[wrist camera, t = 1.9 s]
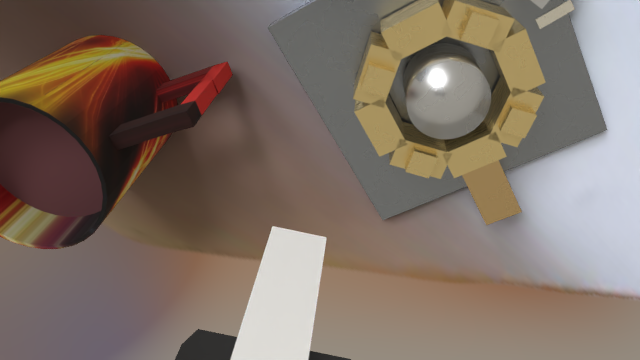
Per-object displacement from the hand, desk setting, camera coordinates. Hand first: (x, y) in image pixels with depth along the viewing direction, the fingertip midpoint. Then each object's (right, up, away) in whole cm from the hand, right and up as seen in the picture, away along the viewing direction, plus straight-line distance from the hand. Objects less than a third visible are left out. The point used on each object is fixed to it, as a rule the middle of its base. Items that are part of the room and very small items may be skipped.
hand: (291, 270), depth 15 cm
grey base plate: (+9, +10, +21) cm, 25 cm away
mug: (-13, +10, +24) cm, 29 cm away
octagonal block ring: (+10, +7, +21) cm, 24 cm away
